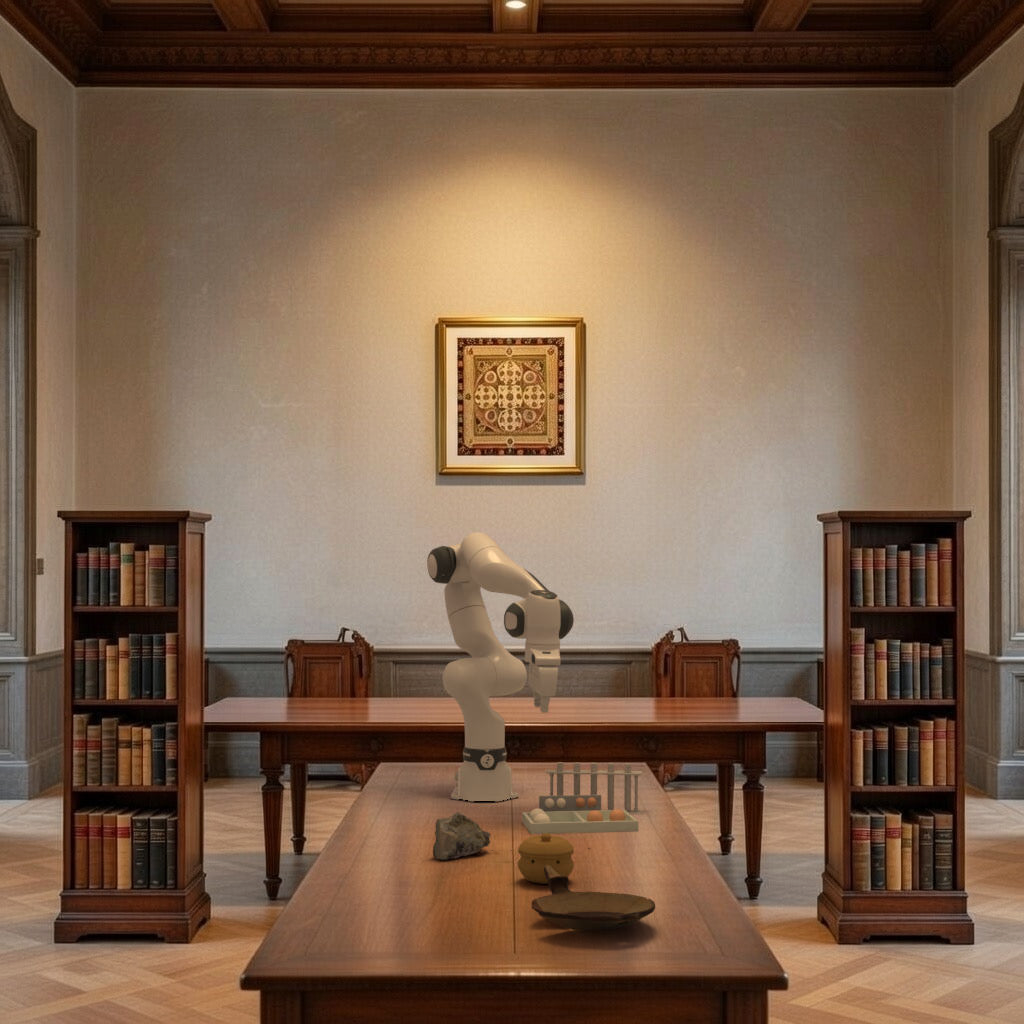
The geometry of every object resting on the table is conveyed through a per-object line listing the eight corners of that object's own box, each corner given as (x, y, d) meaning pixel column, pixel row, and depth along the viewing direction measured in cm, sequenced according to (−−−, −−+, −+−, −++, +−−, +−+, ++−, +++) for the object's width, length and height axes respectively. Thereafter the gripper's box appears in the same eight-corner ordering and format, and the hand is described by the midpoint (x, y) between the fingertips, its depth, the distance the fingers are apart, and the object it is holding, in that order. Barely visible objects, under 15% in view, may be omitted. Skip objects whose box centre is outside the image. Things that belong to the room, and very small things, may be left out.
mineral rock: (490, 851, 315) (490, 807, 316) (490, 862, 305) (491, 816, 305) (433, 851, 315) (434, 807, 315) (432, 862, 304) (432, 816, 305)
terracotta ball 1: (585, 820, 344) (586, 807, 342) (600, 819, 344) (602, 806, 342) (587, 830, 340) (589, 817, 338) (603, 830, 341) (605, 817, 339)
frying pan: (540, 949, 239) (540, 904, 239) (522, 904, 269) (523, 865, 269) (667, 946, 241) (667, 902, 241) (636, 902, 271) (636, 863, 271)
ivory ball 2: (532, 828, 338) (532, 812, 339) (548, 828, 339) (548, 811, 339) (535, 831, 335) (535, 815, 335) (551, 831, 335) (551, 814, 335)
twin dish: (522, 824, 347) (522, 812, 347) (625, 821, 351) (625, 809, 351) (531, 836, 332) (531, 823, 332) (638, 833, 336) (638, 821, 336)
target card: (539, 819, 353) (539, 795, 353) (600, 818, 355) (600, 794, 355) (539, 820, 352) (539, 796, 352) (601, 819, 354) (601, 795, 354)
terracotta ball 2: (607, 824, 344) (607, 807, 345) (623, 823, 345) (623, 807, 345) (611, 827, 341) (611, 810, 341) (627, 826, 341) (627, 810, 341)
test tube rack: (641, 813, 363) (641, 762, 363) (641, 816, 358) (641, 765, 359) (546, 811, 365) (546, 761, 365) (545, 814, 361) (545, 763, 361)
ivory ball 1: (528, 823, 345) (528, 807, 345) (544, 822, 346) (544, 806, 346) (530, 826, 341) (531, 810, 341) (546, 826, 342) (546, 809, 342)
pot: (534, 891, 279) (534, 841, 279) (507, 878, 289) (507, 830, 290) (584, 884, 284) (584, 836, 285) (556, 872, 295) (556, 825, 295)
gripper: (523, 650, 359) (522, 703, 359) (536, 659, 339) (535, 715, 339) (547, 650, 360) (546, 703, 360) (562, 659, 340) (560, 715, 340)
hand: (541, 709), depth 349 cm, fingers open, 8 cm apart
